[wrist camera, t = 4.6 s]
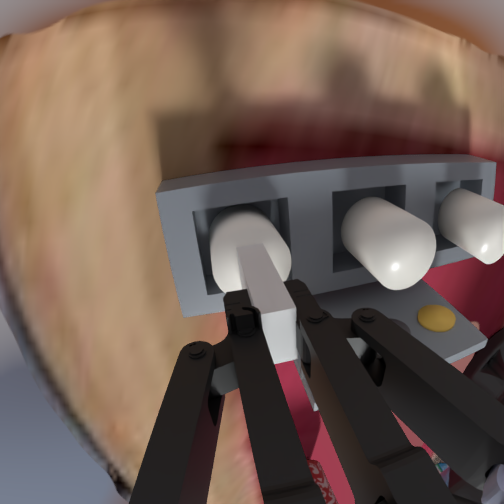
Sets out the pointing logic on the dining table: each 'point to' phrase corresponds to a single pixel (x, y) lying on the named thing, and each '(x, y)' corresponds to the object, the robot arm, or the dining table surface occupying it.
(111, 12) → the dining table surface
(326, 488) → the mug
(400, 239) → the button middle
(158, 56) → the dining table surface
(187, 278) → the button board
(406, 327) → the card
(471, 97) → the dining table surface
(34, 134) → the dining table surface
